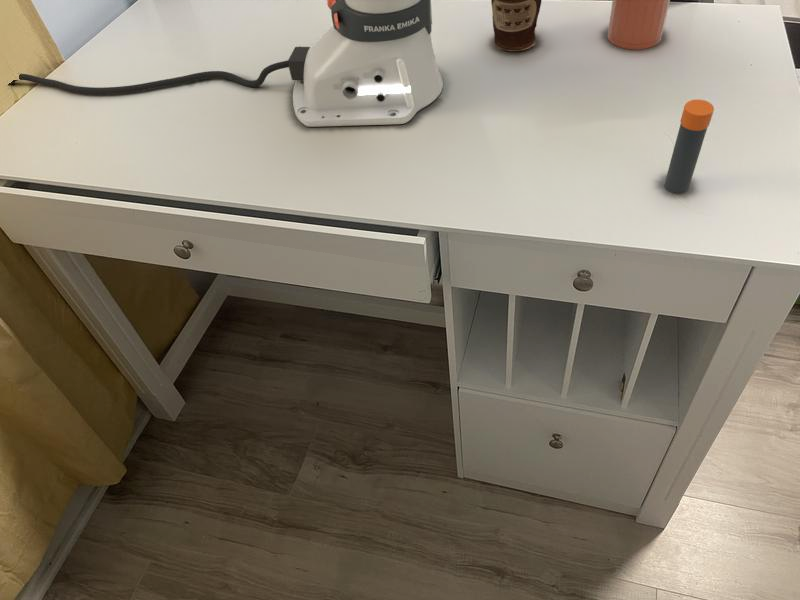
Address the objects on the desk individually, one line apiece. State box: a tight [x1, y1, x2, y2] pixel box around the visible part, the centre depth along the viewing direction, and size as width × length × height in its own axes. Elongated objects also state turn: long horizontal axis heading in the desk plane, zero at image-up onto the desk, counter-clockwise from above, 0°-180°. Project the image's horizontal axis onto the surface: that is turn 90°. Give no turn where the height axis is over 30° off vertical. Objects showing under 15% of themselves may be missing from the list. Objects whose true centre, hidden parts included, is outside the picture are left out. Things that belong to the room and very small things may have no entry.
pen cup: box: [607, 0, 671, 50], centre depth 99 cm, size 8×8×10 cm
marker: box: [663, 99, 715, 195], centre depth 76 cm, size 3×3×11 cm
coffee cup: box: [490, 0, 542, 52], centre depth 100 cm, size 9×8×13 cm
